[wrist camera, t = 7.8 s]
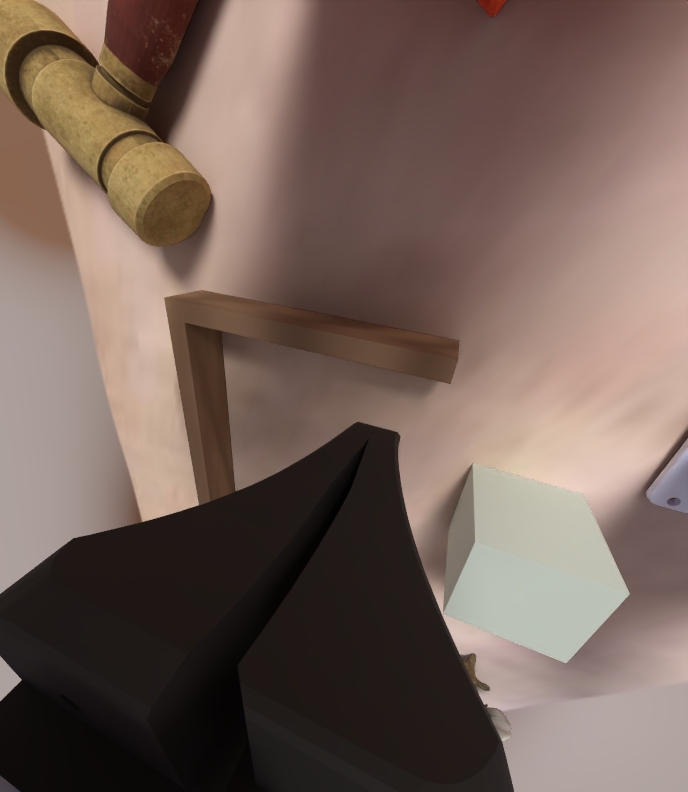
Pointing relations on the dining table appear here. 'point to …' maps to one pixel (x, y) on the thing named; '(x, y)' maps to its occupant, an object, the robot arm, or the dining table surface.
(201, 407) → the wooden frame
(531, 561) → the cube
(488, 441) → the dining table surface
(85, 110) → the gavel
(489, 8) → the file binder
